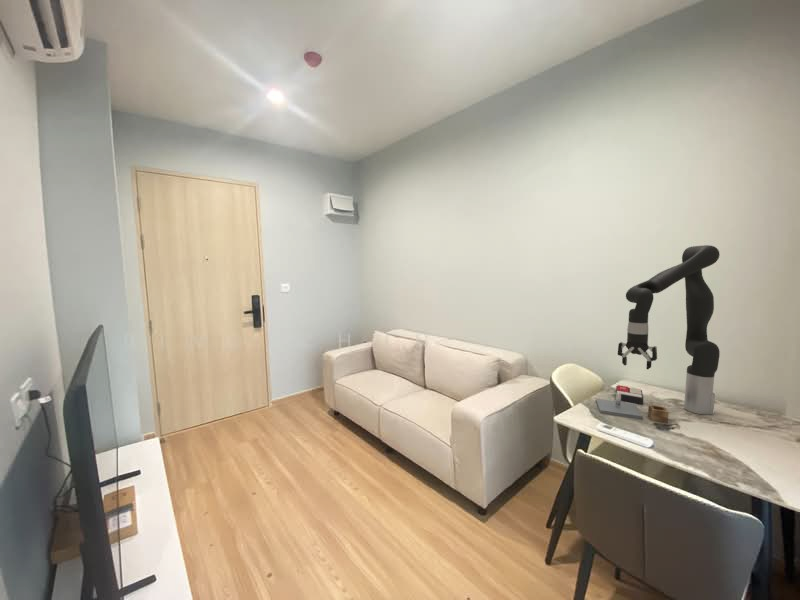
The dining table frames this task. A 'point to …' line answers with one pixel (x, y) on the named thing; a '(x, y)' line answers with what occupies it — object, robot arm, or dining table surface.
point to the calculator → (630, 394)
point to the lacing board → (618, 409)
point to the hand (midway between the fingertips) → (636, 366)
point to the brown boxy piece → (658, 413)
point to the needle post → (618, 399)
